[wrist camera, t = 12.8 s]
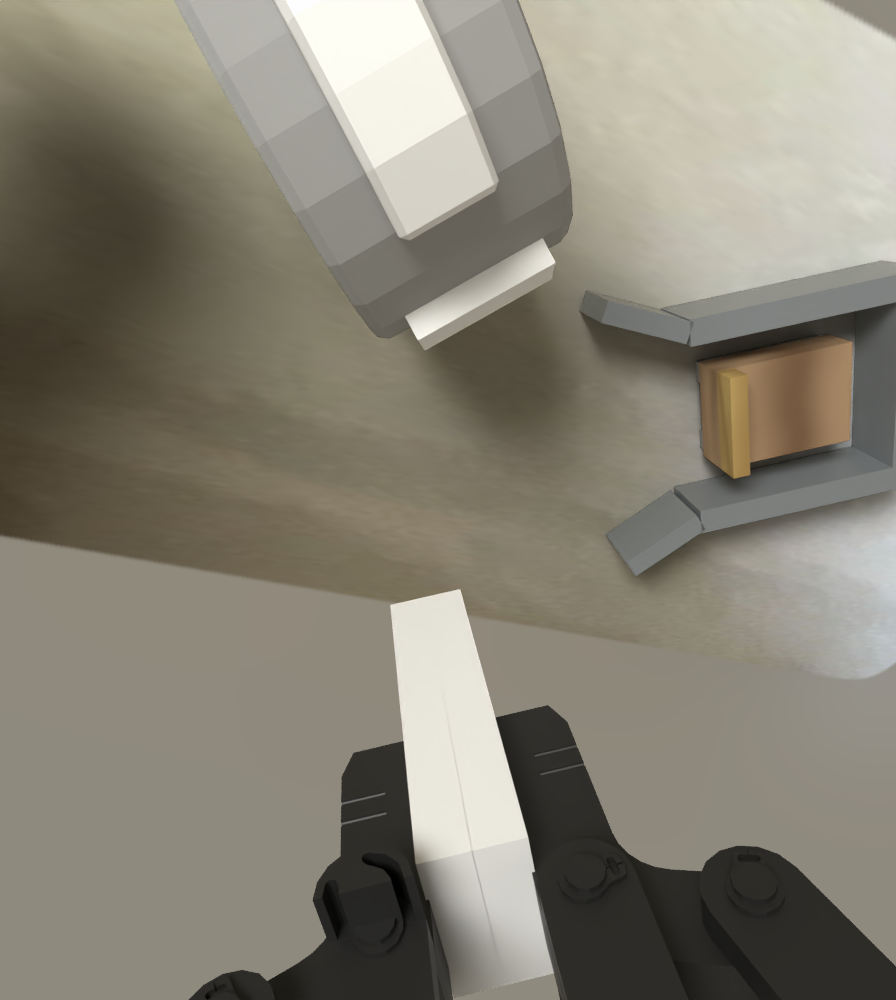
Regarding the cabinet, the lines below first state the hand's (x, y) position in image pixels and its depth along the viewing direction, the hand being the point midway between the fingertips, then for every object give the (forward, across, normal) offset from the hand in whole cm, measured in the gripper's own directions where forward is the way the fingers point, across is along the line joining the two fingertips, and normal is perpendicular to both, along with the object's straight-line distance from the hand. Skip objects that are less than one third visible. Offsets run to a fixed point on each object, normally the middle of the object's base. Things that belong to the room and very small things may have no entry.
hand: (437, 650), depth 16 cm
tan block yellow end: (+30, +22, -7) cm, 38 cm away
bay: (+29, +21, -7) cm, 37 cm away
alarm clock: (+30, +2, +12) cm, 32 cm away
